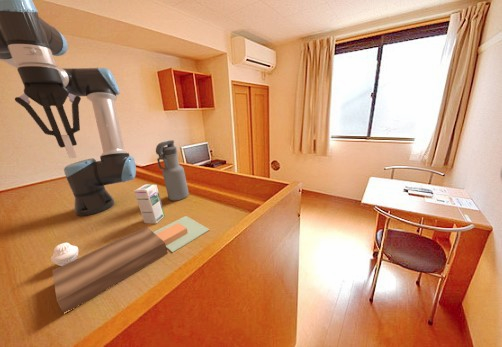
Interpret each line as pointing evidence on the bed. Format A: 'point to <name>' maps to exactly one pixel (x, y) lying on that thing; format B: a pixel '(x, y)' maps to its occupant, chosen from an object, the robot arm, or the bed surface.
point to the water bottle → (172, 171)
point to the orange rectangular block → (172, 233)
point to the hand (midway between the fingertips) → (73, 157)
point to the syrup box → (150, 203)
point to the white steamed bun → (64, 254)
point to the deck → (105, 267)
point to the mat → (193, 233)
